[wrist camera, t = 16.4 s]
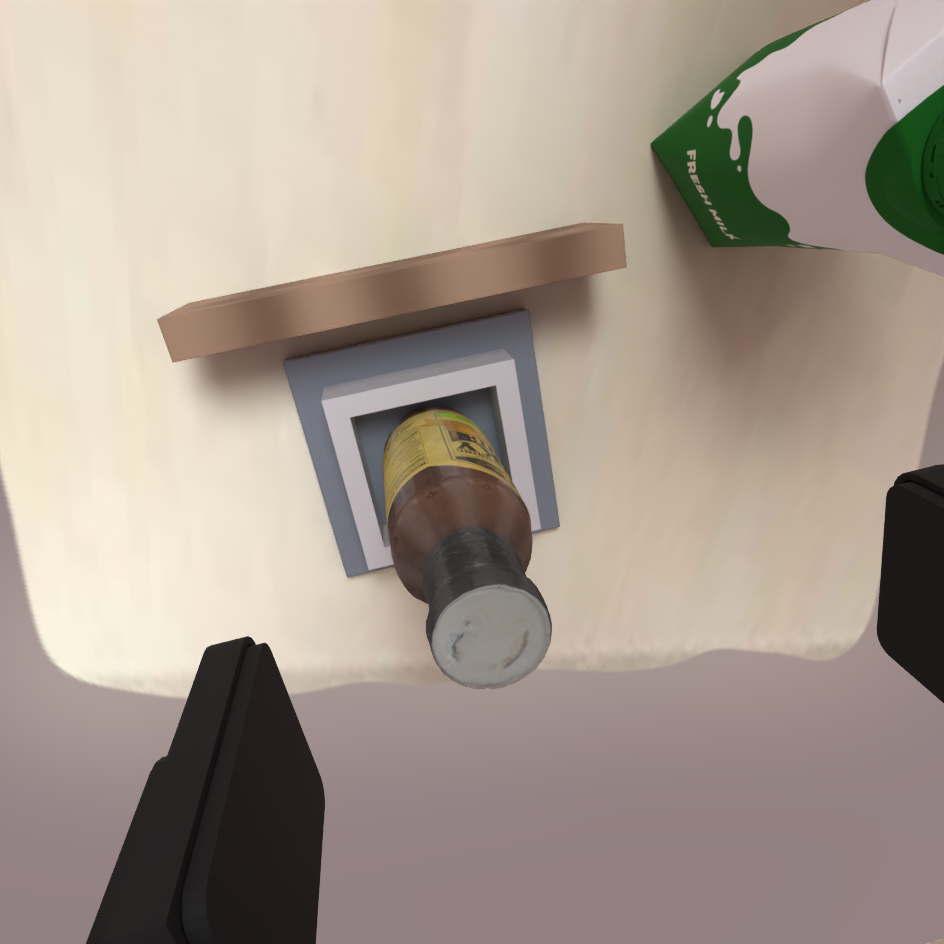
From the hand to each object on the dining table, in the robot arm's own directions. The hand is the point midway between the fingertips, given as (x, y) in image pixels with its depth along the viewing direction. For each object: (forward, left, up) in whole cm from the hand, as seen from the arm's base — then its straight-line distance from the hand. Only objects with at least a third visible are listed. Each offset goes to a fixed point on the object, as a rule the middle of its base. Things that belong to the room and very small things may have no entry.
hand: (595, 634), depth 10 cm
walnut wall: (+1, -3, -30) cm, 30 cm away
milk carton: (-19, -6, -30) cm, 36 cm away
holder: (+1, +7, -30) cm, 31 cm away
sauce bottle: (+1, +7, -30) cm, 30 cm away
